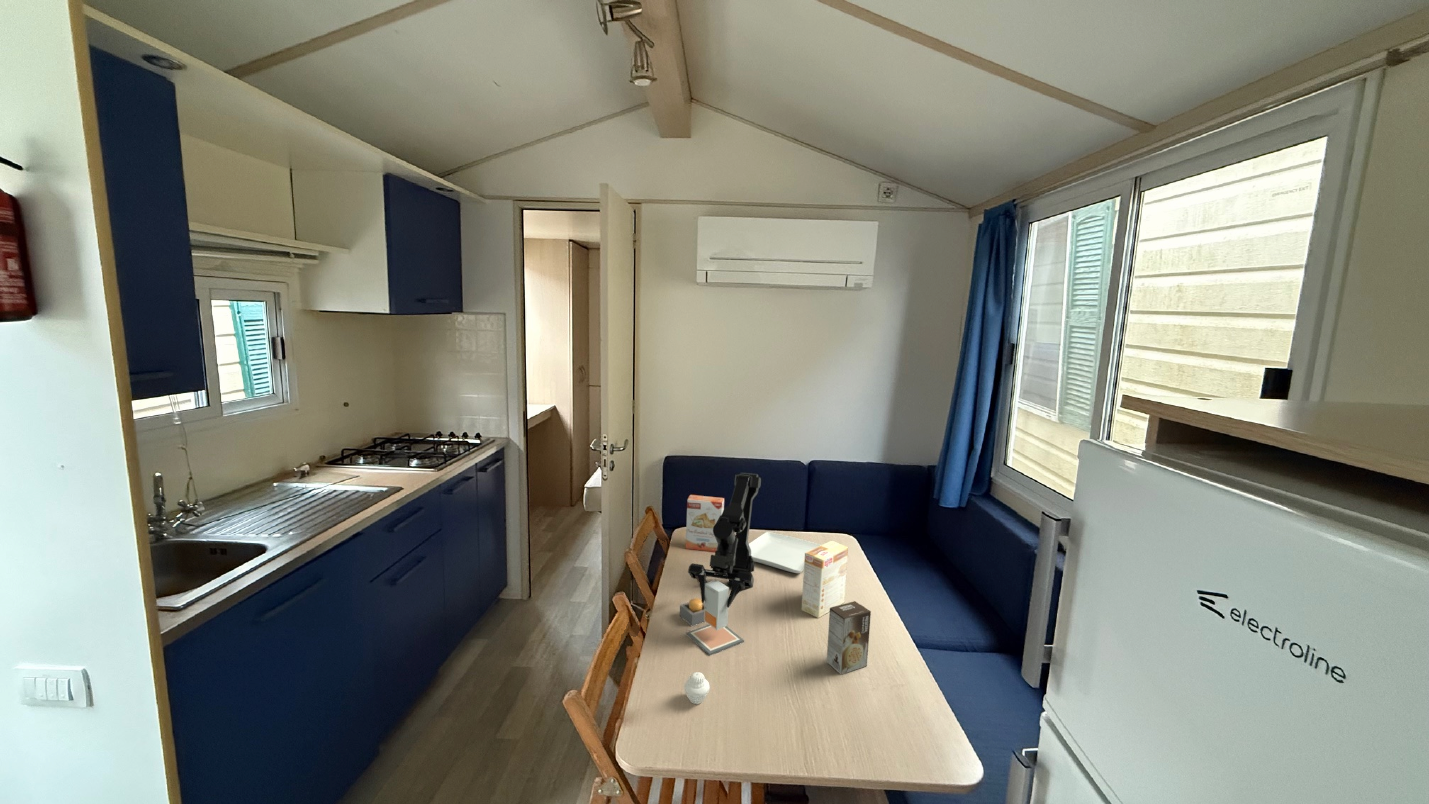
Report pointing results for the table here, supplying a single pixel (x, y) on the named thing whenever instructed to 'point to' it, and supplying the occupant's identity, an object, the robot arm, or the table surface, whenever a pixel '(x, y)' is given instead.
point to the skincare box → (716, 604)
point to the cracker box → (702, 522)
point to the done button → (695, 605)
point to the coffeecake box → (824, 578)
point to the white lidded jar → (696, 688)
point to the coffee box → (848, 637)
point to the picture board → (714, 638)
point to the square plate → (781, 551)
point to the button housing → (691, 614)
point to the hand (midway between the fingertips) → (715, 604)
